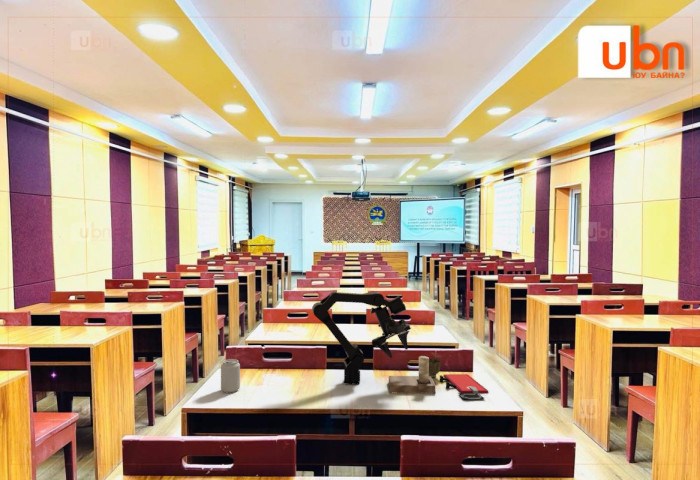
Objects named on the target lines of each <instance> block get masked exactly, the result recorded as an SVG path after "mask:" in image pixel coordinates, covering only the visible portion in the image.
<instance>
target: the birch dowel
mask: <svg viewBox="0 0 700 480" xmlns="http://www.w3.org/2000/svg"><path fill="white" fill-rule="evenodd" d="M429 358H430V357H428V356H425V355H420V356H418V376H419V381H418V382H419V384H429Z"/></svg>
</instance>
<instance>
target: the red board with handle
mask: <svg viewBox="0 0 700 480" xmlns="http://www.w3.org/2000/svg"><path fill="white" fill-rule="evenodd" d="M439 381H440V383H444V381H445V388H446V389H447V390H450V389H451V388H454V389H456V390H457V391H458V392H457V394H458V395H459V396H460V397H461V398H462V399H464V400H478V399H480V400H481V399H484V400H485V397H484V396H483V395H481V394H489V390H488V389H487V388H485V386H483V385H482V384H480V383H479V382H478V381H477V380H476V379H474V378H473V377H472V376H470V375H469V374H467V373H461V374H458V373H457V374H456V373H454V374H452V373H451V374H449V373H448V374H443V375H439Z"/></svg>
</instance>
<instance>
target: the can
mask: <svg viewBox="0 0 700 480" xmlns="http://www.w3.org/2000/svg"><path fill="white" fill-rule="evenodd" d="M240 388H241V364H240V363H239V360H238V359H234V358H229V359H224V360H223V361H222V364H221V365H220V390H221V391H222V393H227V394H231V392H232V393H235V391H236V392H238V390H240Z"/></svg>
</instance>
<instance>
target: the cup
mask: <svg viewBox="0 0 700 480" xmlns="http://www.w3.org/2000/svg"><path fill="white" fill-rule="evenodd" d="M441 361H442V360H441V359H440V358H437V357H432V358H431V359H430V357H429V376H431V378H432V379H435V378H437V375H438V374H439V373H440V370H441V363H442V362H441Z"/></svg>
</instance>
